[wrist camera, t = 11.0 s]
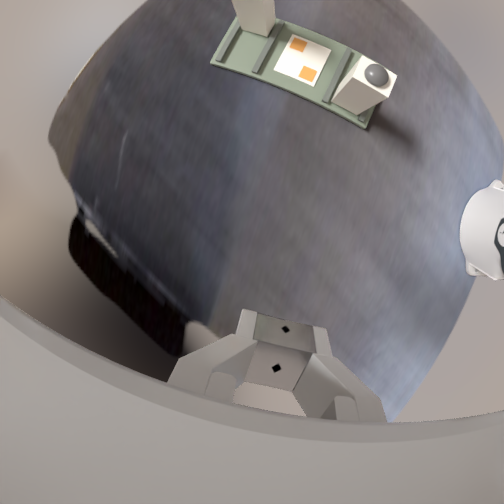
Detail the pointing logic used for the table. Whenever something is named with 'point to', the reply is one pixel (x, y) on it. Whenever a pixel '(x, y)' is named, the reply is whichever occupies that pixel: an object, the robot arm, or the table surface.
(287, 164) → the table surface
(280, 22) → the switch unit
